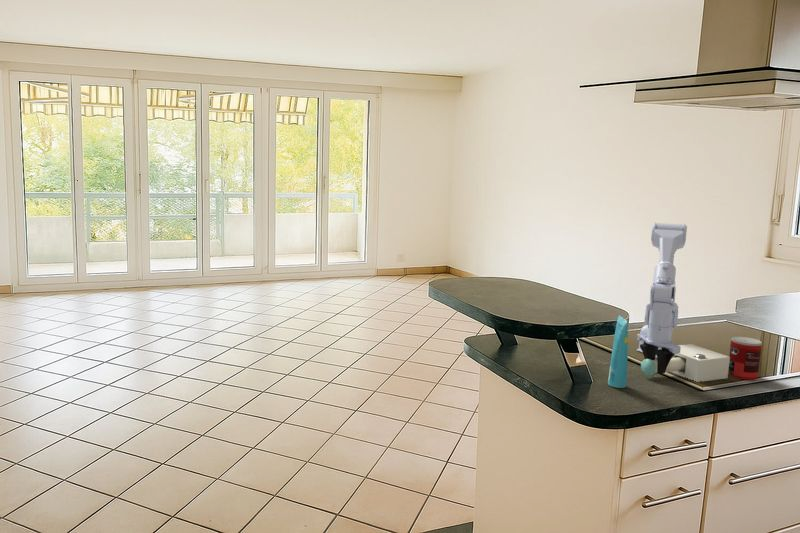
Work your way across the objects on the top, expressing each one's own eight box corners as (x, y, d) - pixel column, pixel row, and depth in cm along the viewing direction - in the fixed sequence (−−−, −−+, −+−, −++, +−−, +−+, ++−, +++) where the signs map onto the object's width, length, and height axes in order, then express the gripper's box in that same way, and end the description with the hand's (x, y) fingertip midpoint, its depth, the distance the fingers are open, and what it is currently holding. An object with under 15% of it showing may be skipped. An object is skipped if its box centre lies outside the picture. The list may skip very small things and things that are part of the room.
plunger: (692, 367, 179) (694, 354, 178) (699, 366, 180) (700, 353, 179) (699, 370, 177) (701, 356, 176) (705, 369, 178) (707, 356, 177)
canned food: (730, 370, 188) (734, 335, 186) (760, 376, 183) (764, 340, 181) (724, 376, 182) (728, 339, 180) (755, 382, 177) (759, 345, 175)
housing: (659, 367, 189) (661, 347, 188) (689, 363, 193) (691, 343, 192) (696, 382, 176) (698, 360, 175) (727, 378, 180) (729, 356, 179)
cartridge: (640, 373, 180) (641, 357, 179) (683, 367, 186) (685, 352, 185) (652, 378, 175) (654, 362, 175) (696, 372, 182) (698, 356, 181)
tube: (630, 390, 168) (637, 321, 165) (613, 390, 168) (619, 321, 165) (619, 380, 175) (625, 314, 172) (603, 380, 175) (608, 314, 172)
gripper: (630, 320, 182) (626, 364, 184) (668, 332, 168) (664, 380, 171) (649, 318, 184) (645, 362, 186) (688, 330, 171) (683, 377, 173)
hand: (655, 370), depth 179 cm, fingers closed on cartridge, 4 cm apart
